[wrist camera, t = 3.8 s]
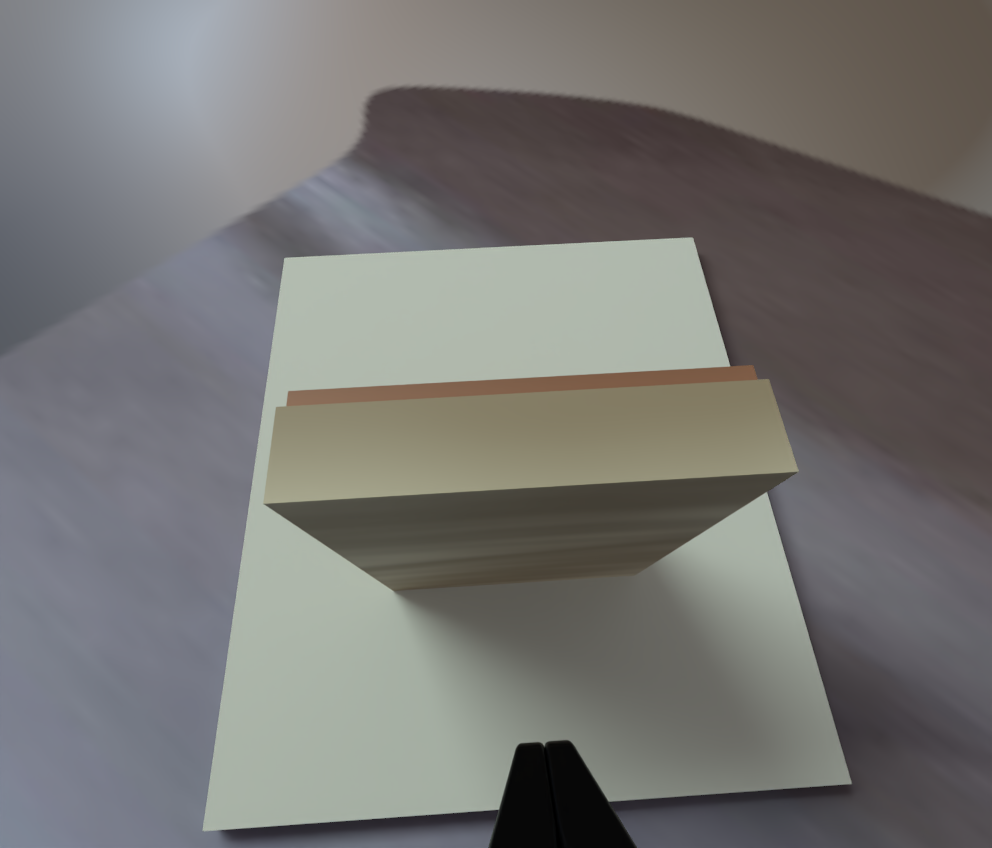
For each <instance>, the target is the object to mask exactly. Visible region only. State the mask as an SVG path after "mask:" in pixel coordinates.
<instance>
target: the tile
mask: <svg viewBox="0 0 992 848" xmlns="http://www.w3.org/2000/svg"><path fill="white" fill-rule="evenodd" d="M797 472H799V471H798V468H797V465H796V462H795V459H794V456H793V453H792V449H791V446H790V443H789V440H788V437H787V434H786V431H785V428H784V425H783V422H782V419H781V415H780V412H779V409H778V406H777V403H776V400H775V397H774V394H773V391H772V388H771V385H770V381H769V379H764V380H758V379H757V376H756V373H755V370H754V367H753V365H748V366H730V367H712V368H694V369H676V370H658V371H640V372H622V373H604V374H586V375H568V376H550V377H532V378H514V379H496V380H478V381H460V382H442V383H424V384H406V385H388V386H370V387H352V388H334V389H316V390H298V391H288V396H287V404H286V406H283V407H276V410H275V418H274V425H273V433H272V441H271V448H270V456H269V463H268V471H267V478H266V486H265V494H264V501H263V504H264V505H266V506H267V507H269V508H270V509H272V510H273V511H275V512H276V513H278V514H279V515H281V516H282V517H284V518H285V519H287V520H288V521H290V522H291V523H292V524H294V525H295V526H297V527H298V528H300V529H301V530H303V531H304V532H306V533H307V534H309V535H310V536H312V537H313V538H315V539H316V540H318V541H319V542H321V543H322V544H324V545H325V546H327V547H328V548H330V549H331V550H333V551H334V552H336V553H337V554H339V555H340V556H342V557H343V558H345V559H346V560H348V561H349V562H351V563H352V564H354V565H355V566H357V567H358V568H360V569H361V570H363V571H364V572H366V573H367V574H369V575H370V576H372V577H373V578H375V579H376V580H378V581H379V582H381V583H382V584H384V585H385V586H386V587H388V588H389V589H391V590H392V591H400V590H415V589H431V588H447V587H462V586H478V585H494V584H509V583H525V582H541V581H556V580H572V579H588V578H603V577H619V576H635V575H637V574H638V573H640V572H641V571H643V570H644V569H646V568H648V567H649V566H651V565H652V564H654V563H655V562H657V561H659V560H660V559H662V558H663V557H665V556H666V555H668V554H670V553H671V552H673V551H674V550H676V549H678V548H679V547H681V546H682V545H684V544H685V543H687V542H689V541H690V540H692V539H693V538H695V537H696V536H698V535H700V534H701V533H703V532H704V531H706V530H708V529H709V528H711V527H712V526H714V525H715V524H717V523H719V522H720V521H722V520H723V519H725V518H726V517H728V516H730V515H731V514H733V513H734V512H736V511H738V510H739V509H741V508H742V507H744V506H745V505H747V504H749V503H750V502H752V501H753V500H755V499H756V498H758V497H760V496H761V495H763V494H764V493H766V492H767V491H769V490H771V489H772V488H774V487H775V486H777V485H779V484H780V483H782V482H783V481H785V480H786V479H788V478H790V477H791V476H793V475H794V474H796V473H797Z"/></svg>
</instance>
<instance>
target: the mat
mask: <svg viewBox="0 0 992 848" xmlns="http://www.w3.org/2000/svg"><path fill="white" fill-rule="evenodd" d="M712 367H730V364H729V360H728V357H727V353H726V350H725V346H724V343H723V340H722V336H721V333H720V329H719V326H718V322H717V319H716V315H715V312H714V309H713V305H712V302H711V298H710V295H709V291H708V288H707V285H706V281H705V278H704V274H703V271H702V267H701V264H700V261H699V257H698V254H697V250H696V247H695V243H694V240H693V238H673V239H653V240H633V241H613V242H593V243H573V244H553V245H533V246H514V247H494V248H474V249H454V250H434V251H414V252H394V253H374V254H354V255H334V256H314V257H294V258H285V259H284V266H283V273H282V280H281V287H280V294H279V301H278V308H277V315H276V322H275V329H274V336H273V343H272V350H271V357H270V364H269V371H268V378H267V385H266V392H265V399H264V406H263V412H262V419H261V426H260V433H259V440H258V447H257V454H256V461H255V468H254V475H253V482H252V489H251V496H250V503H249V510H248V517H247V524H246V531H245V538H244V545H243V552H242V559H241V566H240V573H239V580H238V587H237V594H236V601H235V608H234V615H233V622H232V629H231V636H230V643H229V650H228V657H227V664H226V671H225V678H224V685H223V692H222V699H221V706H220V713H219V720H218V727H217V734H216V741H215V748H214V755H213V762H212V769H211V776H210V783H209V790H208V797H207V804H206V811H205V818H204V825H203V831H214V830H228V829H241V828H255V827H269V826H282V825H296V824H310V823H323V822H337V821H351V820H365V819H378V818H392V817H406V816H419V815H433V814H447V813H460V812H474V811H488V810H499V807H500V804H501V800H502V796H503V793H504V789H505V785H506V782H507V778H508V774H509V771H510V767H511V763H512V760H513V756H514V752H515V749H516V747H517V745H518V744H520V743H529V742H541V743H542V744H543V745H545V743H546V742H548V741H558V740H569V741H571V742H572V743H573V744H574V746H575V747H576V749H577V751H578V752H579V754H580V755H581V757H582V759H583V760H584V762H585V764H586V765H587V767H588V768H589V770H590V772H591V773H592V775H593V777H594V778H595V780H596V782H597V783H598V785H599V786H600V788H601V790H602V791H603V793H604V795H605V796H606V798H607V799H608V801H609V802H611V801H625V800H639V799H652V798H666V797H680V796H693V795H707V794H721V793H734V792H748V791H762V790H776V789H789V788H803V787H817V786H830V785H844V784H852V782H851V779H850V775H849V772H848V769H847V765H846V762H845V758H844V755H843V751H842V748H841V745H840V741H839V738H838V734H837V731H836V727H835V724H834V721H833V717H832V714H831V710H830V707H829V703H828V700H827V697H826V693H825V690H824V686H823V683H822V679H821V676H820V672H819V669H818V666H817V662H816V659H815V655H814V652H813V648H812V645H811V642H810V638H809V635H808V631H807V628H806V624H805V621H804V618H803V614H802V611H801V607H800V604H799V600H798V597H797V594H796V590H795V587H794V583H793V580H792V576H791V573H790V570H789V566H788V563H787V559H786V556H785V552H784V549H783V545H782V542H781V539H780V535H779V532H778V528H777V525H776V521H775V518H774V515H773V511H772V508H771V504H770V501H769V497H768V494H767V492H766V493H764V494H763V495H761V496H760V497H758V498H756V499H755V500H753V501H752V502H750V503H749V504H747V505H745V506H744V507H742V508H741V509H739V510H738V511H736V512H734V513H733V514H731V515H730V516H728V517H726V518H725V519H723V520H722V521H720V522H719V523H717V524H715V525H714V526H712V527H711V528H709V529H708V530H706V531H704V532H703V533H701V534H700V535H698V536H696V537H695V538H693V539H692V540H690V541H689V542H687V543H685V544H684V545H682V546H681V547H679V548H678V549H676V550H674V551H673V552H671V553H670V554H668V555H666V556H665V557H663V558H662V559H660V560H659V561H657V562H655V563H654V564H652V565H651V566H649V567H648V568H646V569H644V570H643V571H641V572H640V573H638V574H637V575H635V576H619V577H603V578H588V579H572V580H556V581H541V582H525V583H509V584H494V585H478V586H462V587H447V588H431V589H415V590H400V591H392V590H391V589H389V588H388V587H386V586H385V585H384V584H382V583H381V582H379V581H378V580H376V579H375V578H373V577H372V576H370V575H369V574H367V573H366V572H364V571H363V570H361V569H360V568H358V567H357V566H355V565H354V564H352V563H351V562H349V561H348V560H346V559H345V558H343V557H342V556H340V555H339V554H337V553H336V552H334V551H333V550H331V549H330V548H328V547H327V546H325V545H324V544H322V543H321V542H319V541H318V540H316V539H315V538H313V537H312V536H310V535H309V534H307V533H306V532H304V531H303V530H301V529H300V528H298V527H297V526H295V525H294V524H292V523H291V522H290V521H288V520H287V519H285V518H284V517H282V516H281V515H279V514H278V513H276V512H275V511H273V510H272V509H270V508H269V507H267V506H266V505H264V504H263V501H264V494H265V486H266V478H267V471H268V463H269V456H270V448H271V441H272V433H273V425H274V418H275V410H276V407H283V406H286V404H287V396H288V391H298V390H316V389H334V388H352V387H370V386H388V385H406V384H424V383H442V382H460V381H478V380H496V379H514V378H532V377H550V376H568V375H586V374H604V373H622V372H640V371H658V370H676V369H694V368H712Z"/></svg>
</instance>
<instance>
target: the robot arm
mask: <svg viewBox="0 0 992 848" xmlns="http://www.w3.org/2000/svg"><path fill="white" fill-rule="evenodd" d="M488 848H637V847H636V845H635V844H634V842H633V840H632V839H631V837H630V835H629V834H628V832H627V830H626V829H625V827H624V826H623V824H622V822H621V821H620V819H619V817H618V816H617V814H616V813H615V811H614V809H613V808H612V806H611V804H610V803H609V801H608V799H607V798H606V796H605V795H604V793H603V791H602V790H601V788H600V786H599V785H598V783H597V782H596V780H595V778H594V777H593V775H592V773H591V772H590V770H589V768H588V767H587V765H586V764H585V762H584V760H583V759H582V757H581V755H580V754H579V752H578V751H577V749H576V747H575V746H574V744H573V743H572V742H571V741H569V740H558V741H548V742H546V743H545V745H543V744H542V743H541V742H529V743H520V744H518V745H517V747H516V749H515V752H514V756H513V760H512V763H511V767H510V771H509V774H508V778H507V782H506V785H505V789H504V793H503V796H502V800H501V804H500V807H499V811H498V814H497V818H496V822H495V825H494V829H493V833H492V836H491V840H490V844H489V847H488Z"/></svg>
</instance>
